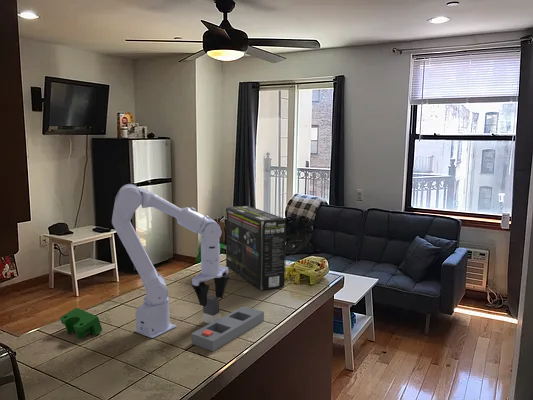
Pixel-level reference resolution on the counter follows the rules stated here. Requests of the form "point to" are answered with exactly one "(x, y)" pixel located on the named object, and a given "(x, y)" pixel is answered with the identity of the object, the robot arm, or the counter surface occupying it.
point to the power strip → (227, 328)
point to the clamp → (81, 323)
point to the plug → (211, 309)
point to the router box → (256, 246)
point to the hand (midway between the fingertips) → (211, 301)
